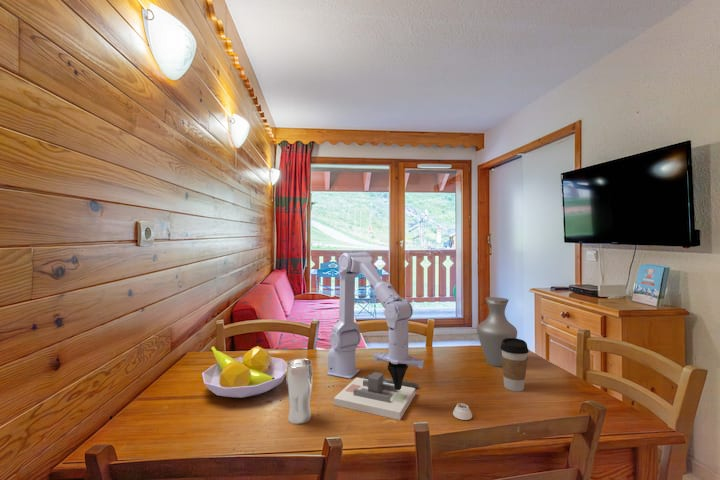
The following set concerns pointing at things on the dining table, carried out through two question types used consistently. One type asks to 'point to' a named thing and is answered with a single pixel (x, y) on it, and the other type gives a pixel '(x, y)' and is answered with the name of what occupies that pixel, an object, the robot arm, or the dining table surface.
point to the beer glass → (299, 389)
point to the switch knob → (375, 383)
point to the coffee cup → (514, 363)
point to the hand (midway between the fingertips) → (398, 388)
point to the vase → (495, 330)
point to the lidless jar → (462, 412)
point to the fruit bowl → (244, 373)
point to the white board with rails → (377, 397)
